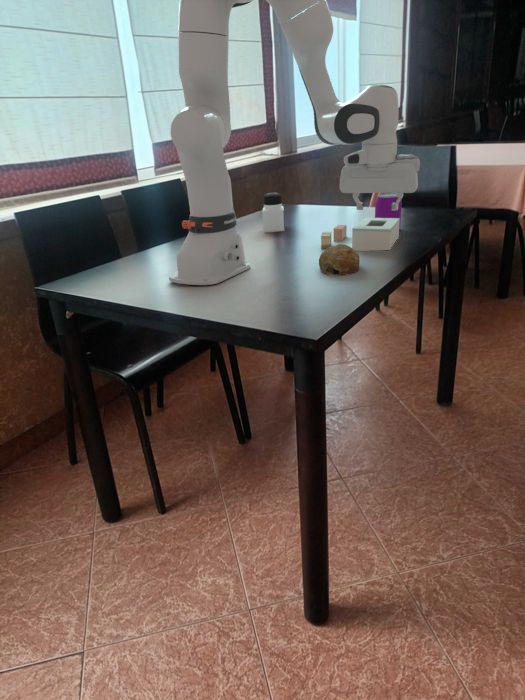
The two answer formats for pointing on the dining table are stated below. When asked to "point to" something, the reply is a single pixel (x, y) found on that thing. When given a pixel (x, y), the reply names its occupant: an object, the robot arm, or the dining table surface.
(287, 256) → the dining table surface
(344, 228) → the salmon pink block
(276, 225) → the medicine bottle
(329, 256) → the bread roll
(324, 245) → the maple token
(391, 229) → the box
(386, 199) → the beverage can
